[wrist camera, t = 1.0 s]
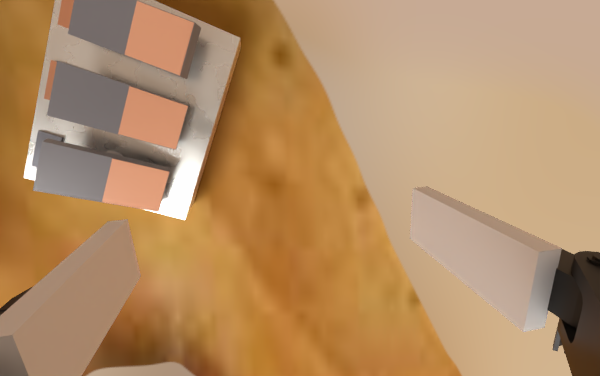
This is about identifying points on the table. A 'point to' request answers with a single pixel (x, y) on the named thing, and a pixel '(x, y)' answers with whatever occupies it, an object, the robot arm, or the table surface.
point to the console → (193, 91)
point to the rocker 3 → (99, 176)
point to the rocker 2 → (115, 106)
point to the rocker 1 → (137, 32)
